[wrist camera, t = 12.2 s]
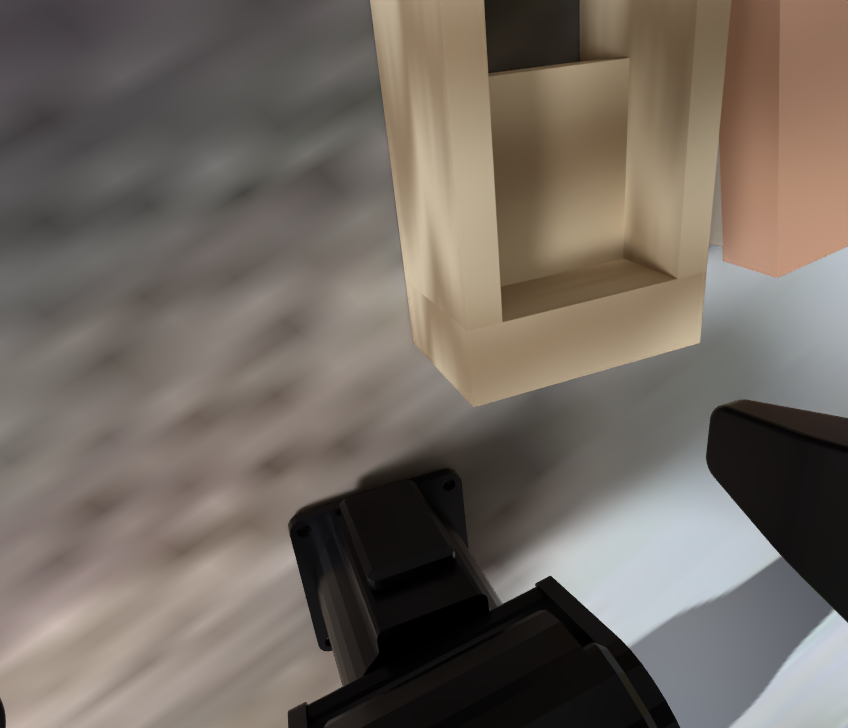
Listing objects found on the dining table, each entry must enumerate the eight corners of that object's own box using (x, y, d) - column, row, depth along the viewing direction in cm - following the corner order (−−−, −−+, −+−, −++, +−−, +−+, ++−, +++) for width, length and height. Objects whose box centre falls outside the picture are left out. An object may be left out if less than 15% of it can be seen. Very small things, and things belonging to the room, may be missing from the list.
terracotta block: (805, 225, 25) (866, 238, 22) (722, 261, 24) (777, 278, 22) (814, -38, 20) (889, -53, 18) (713, -4, 20) (780, -15, 17)
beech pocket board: (602, 296, 23) (700, 342, 19) (413, 343, 21) (473, 407, 17) (613, -308, 16) (773, -454, 12) (329, -323, 14) (395, -503, 10)
